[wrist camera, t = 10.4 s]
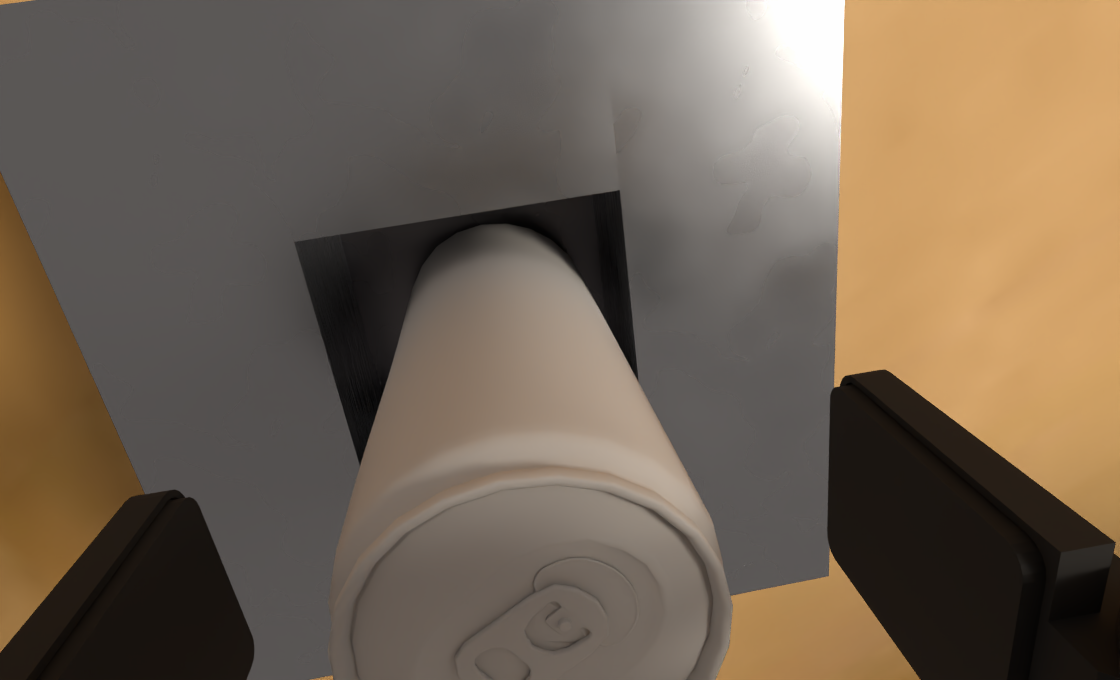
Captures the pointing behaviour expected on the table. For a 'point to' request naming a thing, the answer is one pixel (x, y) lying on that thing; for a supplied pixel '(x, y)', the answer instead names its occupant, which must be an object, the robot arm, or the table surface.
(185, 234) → the socket block
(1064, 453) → the table surface
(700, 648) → the beverage can
